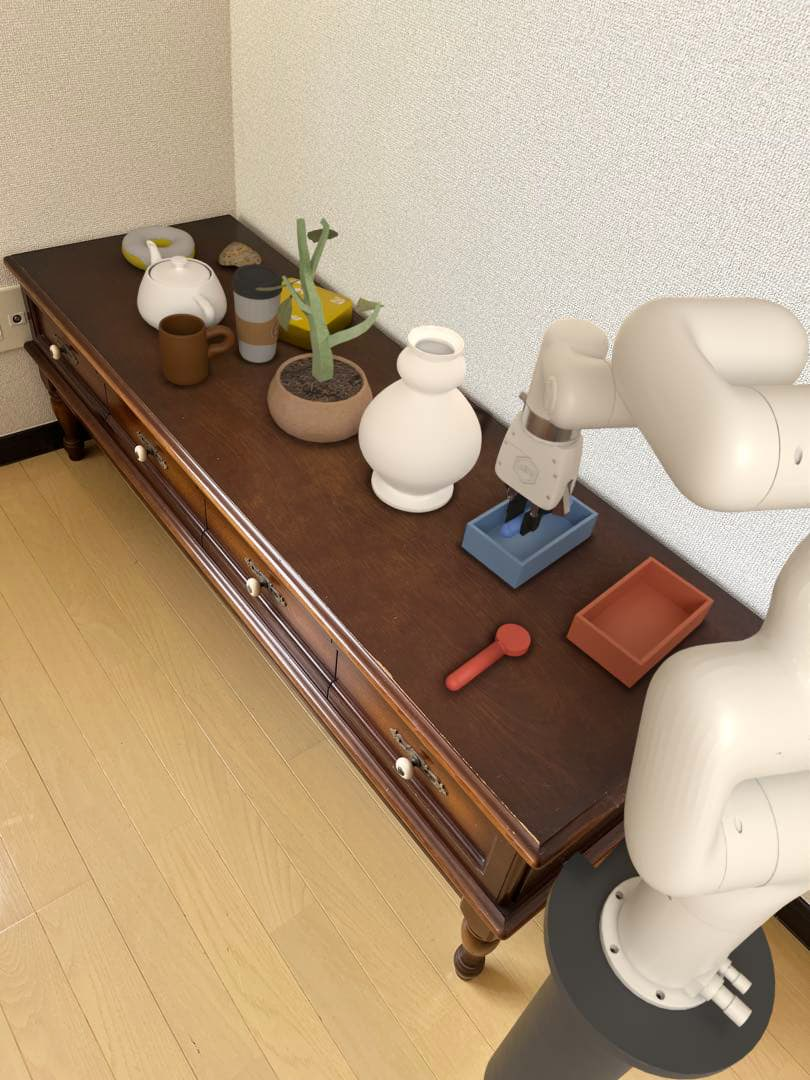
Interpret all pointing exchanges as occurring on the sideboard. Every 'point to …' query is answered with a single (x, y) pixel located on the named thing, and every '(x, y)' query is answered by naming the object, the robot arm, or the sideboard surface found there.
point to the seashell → (239, 255)
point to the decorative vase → (422, 425)
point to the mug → (189, 347)
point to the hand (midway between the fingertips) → (520, 524)
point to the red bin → (639, 620)
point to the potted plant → (318, 361)
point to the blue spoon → (517, 524)
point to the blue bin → (526, 541)
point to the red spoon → (491, 654)
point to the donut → (165, 240)
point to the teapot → (180, 290)
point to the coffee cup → (256, 311)
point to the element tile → (333, 310)
